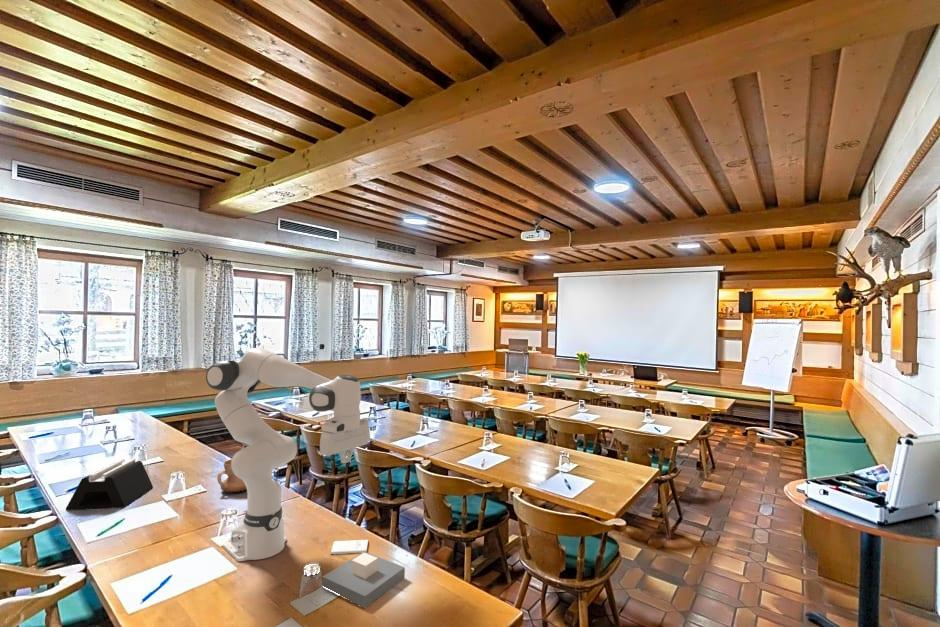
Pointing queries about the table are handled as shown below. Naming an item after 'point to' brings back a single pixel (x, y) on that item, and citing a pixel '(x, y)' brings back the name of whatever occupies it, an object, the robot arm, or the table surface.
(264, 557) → the robot arm
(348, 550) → the external hard drive
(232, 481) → the ceramic jug
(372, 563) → the cream white block
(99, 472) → the device stand
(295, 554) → the table surface
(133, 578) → the table surface
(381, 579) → the socket
